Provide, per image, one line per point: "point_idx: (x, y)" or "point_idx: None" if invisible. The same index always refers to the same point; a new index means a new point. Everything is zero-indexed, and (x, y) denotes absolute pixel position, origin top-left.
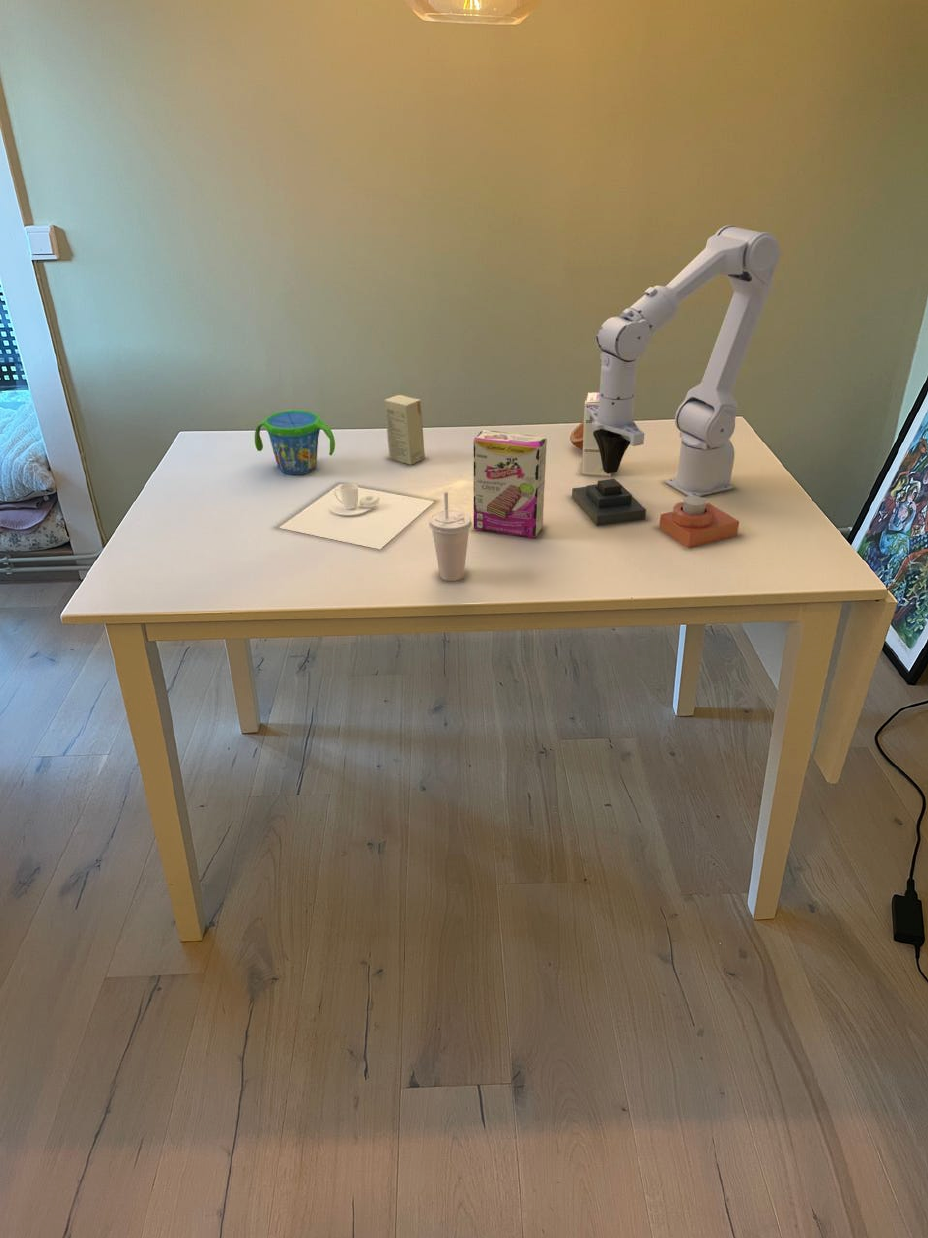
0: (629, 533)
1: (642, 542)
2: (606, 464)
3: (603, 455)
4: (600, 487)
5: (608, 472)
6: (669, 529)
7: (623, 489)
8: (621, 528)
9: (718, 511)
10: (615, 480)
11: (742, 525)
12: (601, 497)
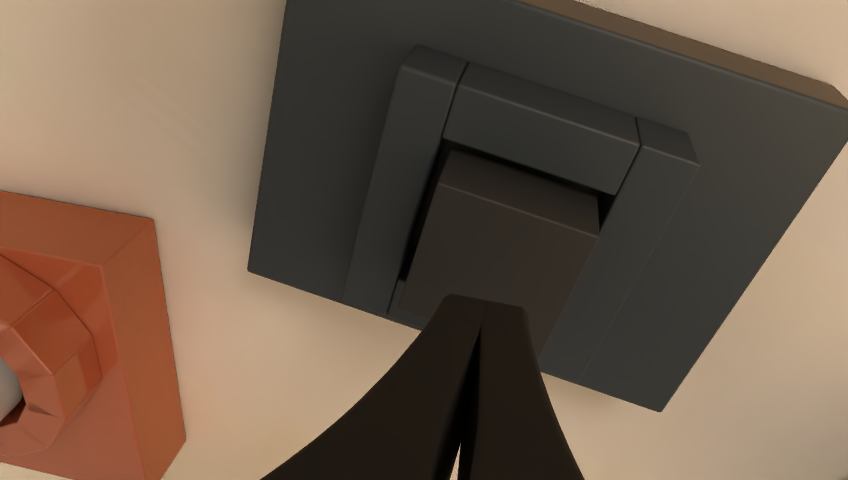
0: (154, 44)
1: (28, 28)
2: (426, 342)
3: (478, 418)
4: (527, 195)
5: (440, 305)
6: (47, 219)
7: None
8: (231, 50)
9: (55, 463)
10: None
11: None
12: (419, 104)
